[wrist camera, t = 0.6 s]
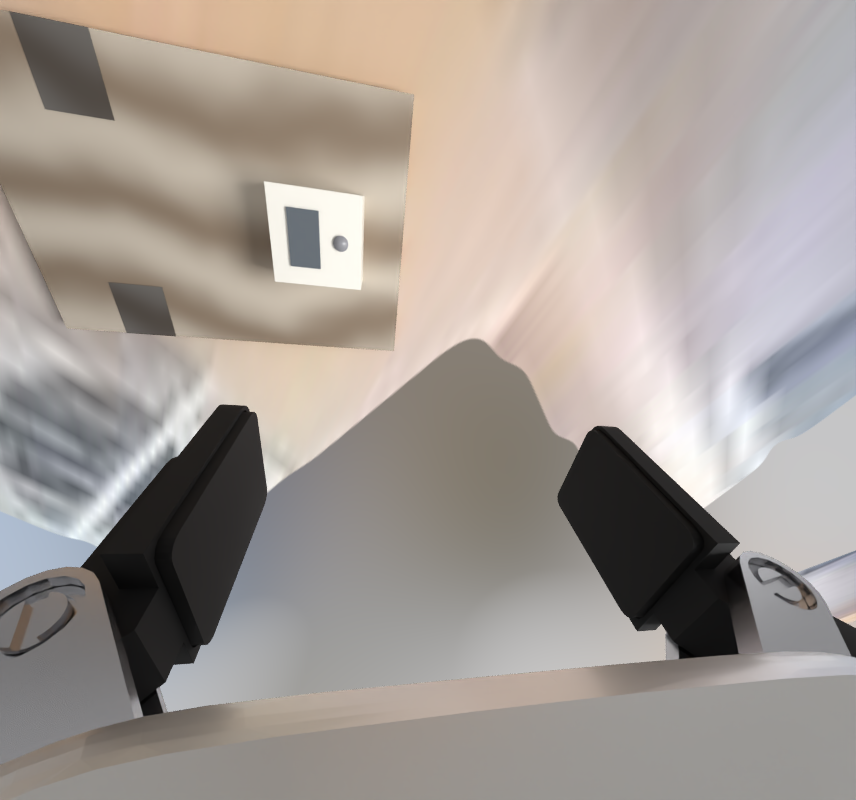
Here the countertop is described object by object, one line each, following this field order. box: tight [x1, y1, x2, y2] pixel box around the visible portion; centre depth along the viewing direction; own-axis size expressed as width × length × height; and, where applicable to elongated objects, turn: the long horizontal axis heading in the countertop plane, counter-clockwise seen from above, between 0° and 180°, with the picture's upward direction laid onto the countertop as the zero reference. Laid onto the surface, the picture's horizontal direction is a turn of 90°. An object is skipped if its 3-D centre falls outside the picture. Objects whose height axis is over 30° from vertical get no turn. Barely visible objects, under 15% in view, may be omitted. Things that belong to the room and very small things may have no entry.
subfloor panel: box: [0, 10, 414, 351], centre depth 24 cm, size 18×26×1 cm
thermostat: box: [264, 181, 365, 290], centre depth 23 cm, size 6×6×3 cm
